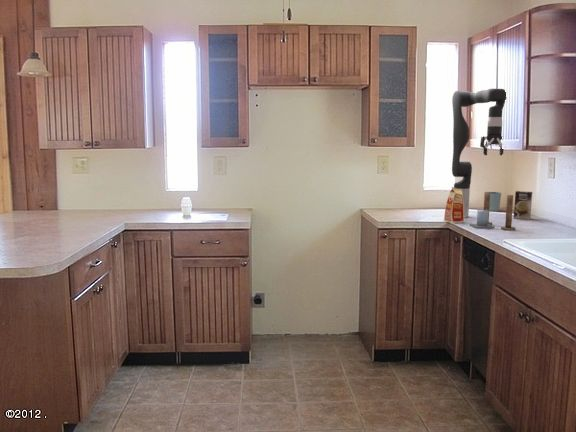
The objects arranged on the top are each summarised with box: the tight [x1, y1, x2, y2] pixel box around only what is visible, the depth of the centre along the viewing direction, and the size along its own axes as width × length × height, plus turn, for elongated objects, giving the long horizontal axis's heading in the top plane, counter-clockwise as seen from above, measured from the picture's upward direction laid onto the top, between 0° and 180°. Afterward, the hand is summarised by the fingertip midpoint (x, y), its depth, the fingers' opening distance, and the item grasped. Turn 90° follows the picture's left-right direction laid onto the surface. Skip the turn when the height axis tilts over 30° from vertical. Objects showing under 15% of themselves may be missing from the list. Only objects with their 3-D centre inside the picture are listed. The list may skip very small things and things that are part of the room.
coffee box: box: [513, 190, 533, 221], centre depth 334 cm, size 9×6×16 cm
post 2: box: [500, 194, 516, 231], centre depth 296 cm, size 7×7×18 cm
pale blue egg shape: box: [476, 209, 488, 226], centre depth 304 cm, size 6×6×8 cm
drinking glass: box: [489, 191, 502, 213], centre depth 368 cm, size 10×10×12 cm
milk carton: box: [443, 186, 465, 224], centre depth 322 cm, size 9×9×20 cm
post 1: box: [483, 191, 493, 226], centre depth 311 cm, size 7×7×18 cm
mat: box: [469, 223, 495, 229], centre depth 305 cm, size 10×10×1 cm
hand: (493, 155), depth 312 cm, fingers open, 8 cm apart
